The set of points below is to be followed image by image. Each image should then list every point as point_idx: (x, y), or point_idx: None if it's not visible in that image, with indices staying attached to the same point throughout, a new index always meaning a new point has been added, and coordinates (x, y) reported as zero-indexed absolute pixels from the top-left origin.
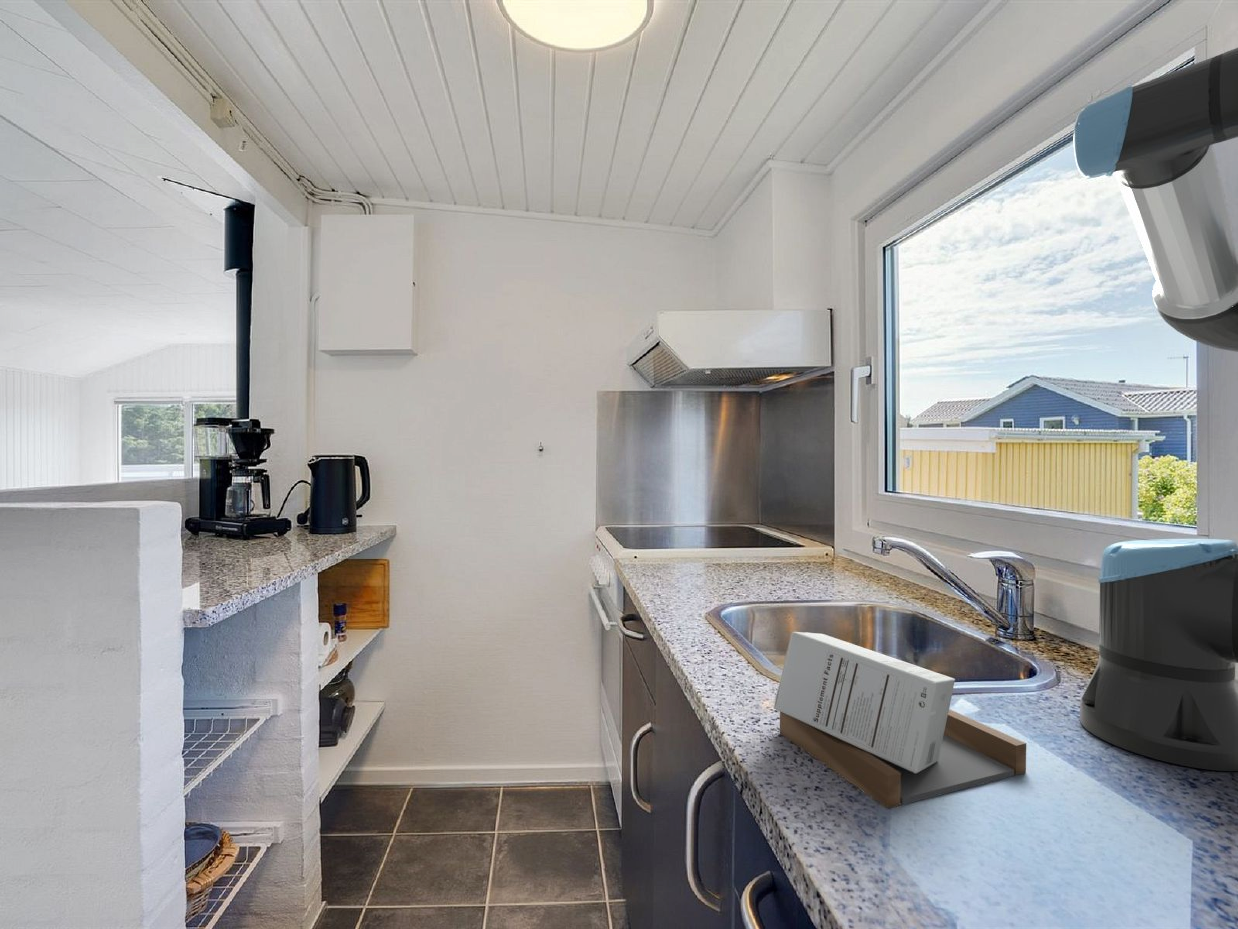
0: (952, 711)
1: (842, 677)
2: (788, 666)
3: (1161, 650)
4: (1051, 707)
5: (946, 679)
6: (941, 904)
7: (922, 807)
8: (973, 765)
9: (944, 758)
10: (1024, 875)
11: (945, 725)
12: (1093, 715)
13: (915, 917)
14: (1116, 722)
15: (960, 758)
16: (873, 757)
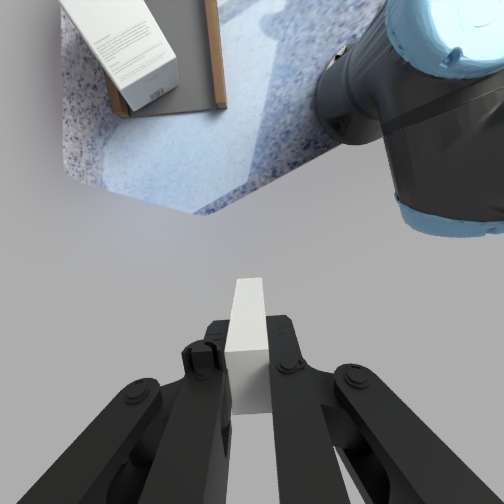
0: (217, 40)
1: (79, 33)
2: None
3: (356, 88)
4: (344, 24)
5: (152, 69)
6: (105, 182)
7: (141, 122)
8: (196, 96)
9: (185, 82)
10: (151, 178)
11: (176, 75)
12: (324, 72)
13: (91, 185)
14: (320, 91)
15: (195, 86)
16: (116, 90)
